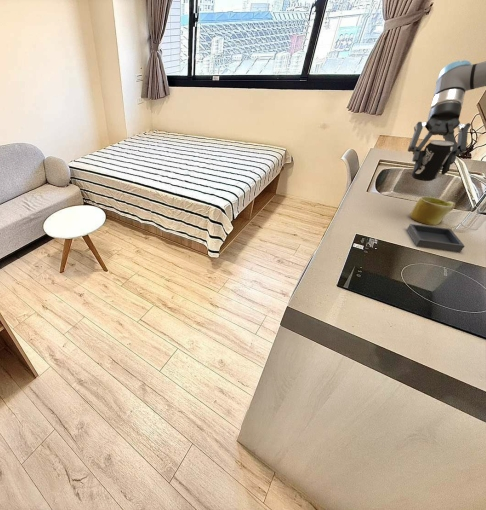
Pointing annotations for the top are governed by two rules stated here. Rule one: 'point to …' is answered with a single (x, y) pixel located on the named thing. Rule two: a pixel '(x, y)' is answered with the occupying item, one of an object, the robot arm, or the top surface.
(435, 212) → the mug
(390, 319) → the top surface
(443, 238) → the dark grey tray
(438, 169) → the beverage can
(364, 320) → the top surface
